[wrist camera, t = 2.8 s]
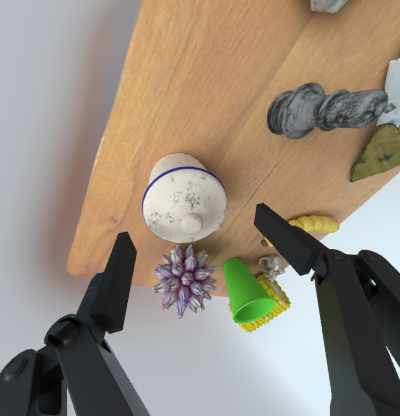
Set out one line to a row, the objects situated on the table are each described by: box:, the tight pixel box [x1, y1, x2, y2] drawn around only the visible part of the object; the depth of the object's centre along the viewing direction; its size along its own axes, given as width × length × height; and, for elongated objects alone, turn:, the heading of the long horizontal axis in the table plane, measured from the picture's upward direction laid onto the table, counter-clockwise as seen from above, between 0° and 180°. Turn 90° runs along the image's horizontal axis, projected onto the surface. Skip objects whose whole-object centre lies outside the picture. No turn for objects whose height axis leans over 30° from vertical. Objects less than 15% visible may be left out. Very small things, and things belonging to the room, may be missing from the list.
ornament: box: [258, 255, 285, 282], centre depth 38 cm, size 8×7×4 cm
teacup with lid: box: [142, 153, 227, 243], centre depth 18 cm, size 12×9×12 cm
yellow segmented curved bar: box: [261, 215, 339, 247], centre depth 33 cm, size 20×6×4 cm, turn 95°
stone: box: [350, 123, 400, 182], centre depth 25 cm, size 12×6×2 cm
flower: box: [153, 244, 217, 319], centre depth 26 cm, size 12×12×12 cm
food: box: [228, 273, 291, 332], centre depth 40 cm, size 15×12×10 cm
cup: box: [223, 258, 276, 323], centre depth 32 cm, size 9×9×11 cm
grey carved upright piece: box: [267, 82, 396, 139], centre depth 16 cm, size 6×6×12 cm
